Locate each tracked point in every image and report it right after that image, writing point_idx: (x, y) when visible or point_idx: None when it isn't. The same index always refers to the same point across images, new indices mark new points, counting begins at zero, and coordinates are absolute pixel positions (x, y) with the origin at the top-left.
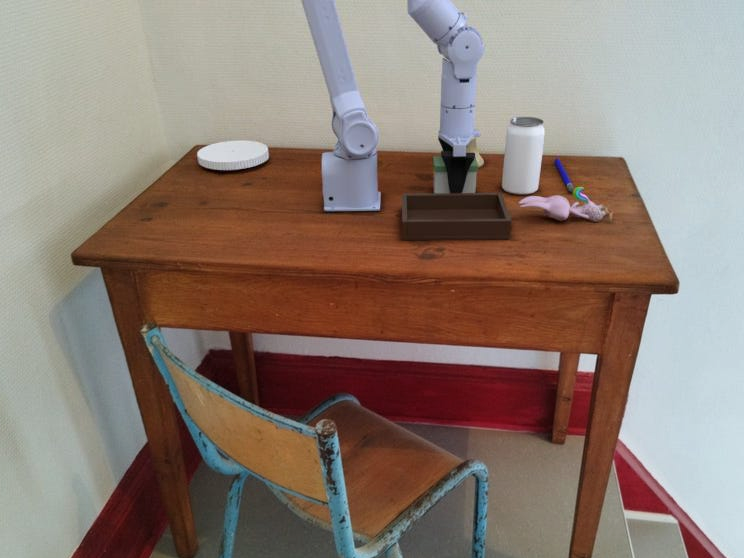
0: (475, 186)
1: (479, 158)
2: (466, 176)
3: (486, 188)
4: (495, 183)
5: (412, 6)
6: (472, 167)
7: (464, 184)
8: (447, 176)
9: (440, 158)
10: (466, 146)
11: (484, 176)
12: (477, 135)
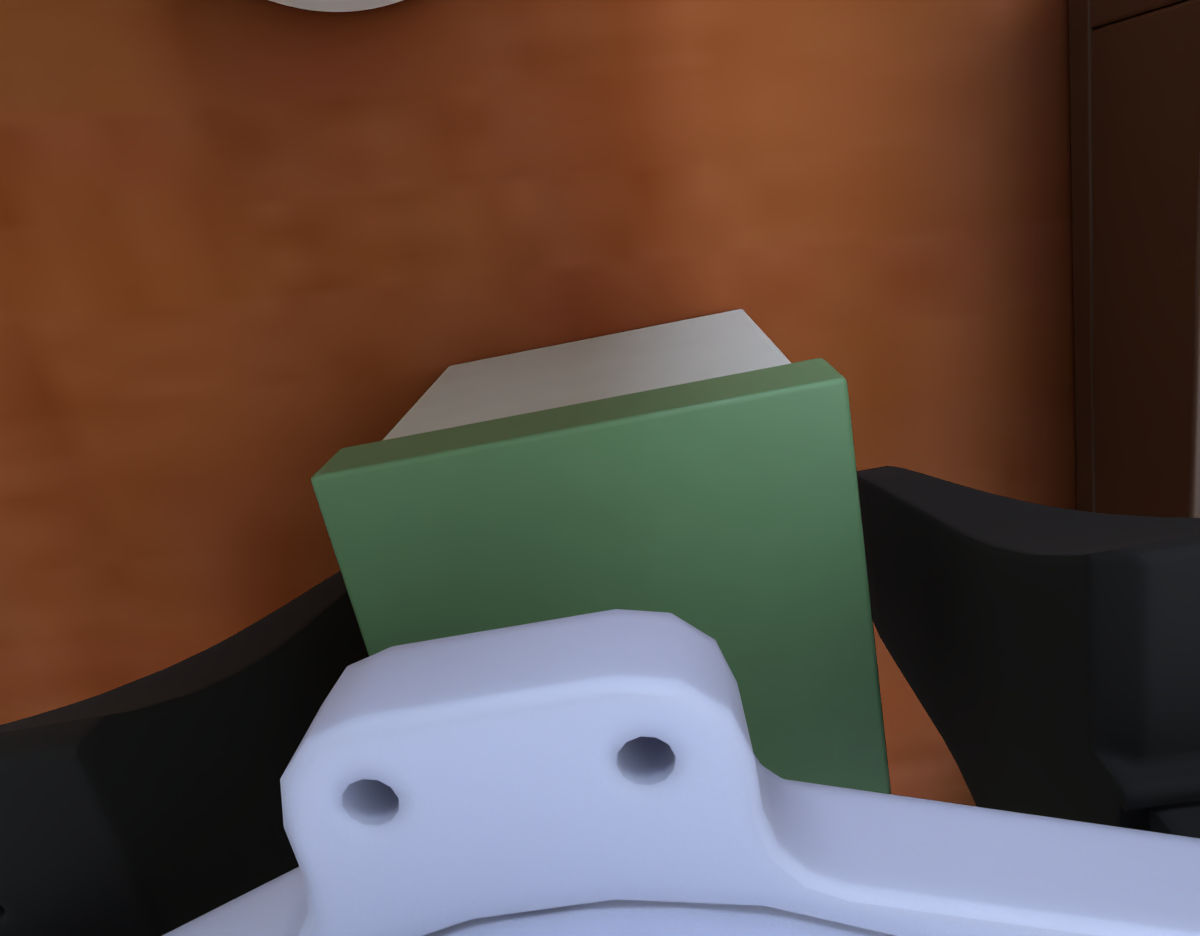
0: (761, 333)
1: None
2: (1009, 498)
3: (391, 208)
4: (201, 113)
5: None
6: (854, 460)
7: (929, 477)
8: (936, 722)
9: None
10: (204, 695)
11: (18, 267)
12: (742, 722)
